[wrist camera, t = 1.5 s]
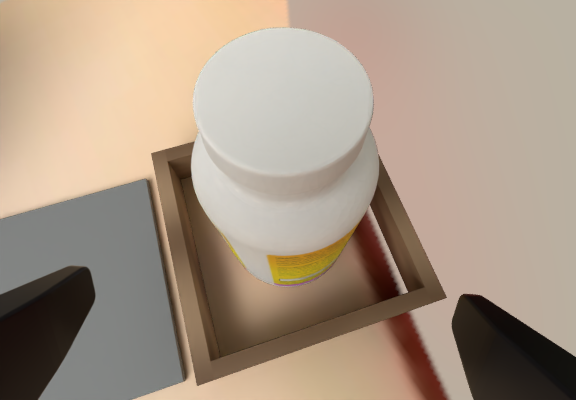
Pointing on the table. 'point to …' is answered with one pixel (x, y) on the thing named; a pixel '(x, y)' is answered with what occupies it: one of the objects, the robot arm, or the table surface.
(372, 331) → the table surface
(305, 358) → the table surface
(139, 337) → the mat
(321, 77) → the supplement bottle
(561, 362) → the robot arm
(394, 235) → the square frame
